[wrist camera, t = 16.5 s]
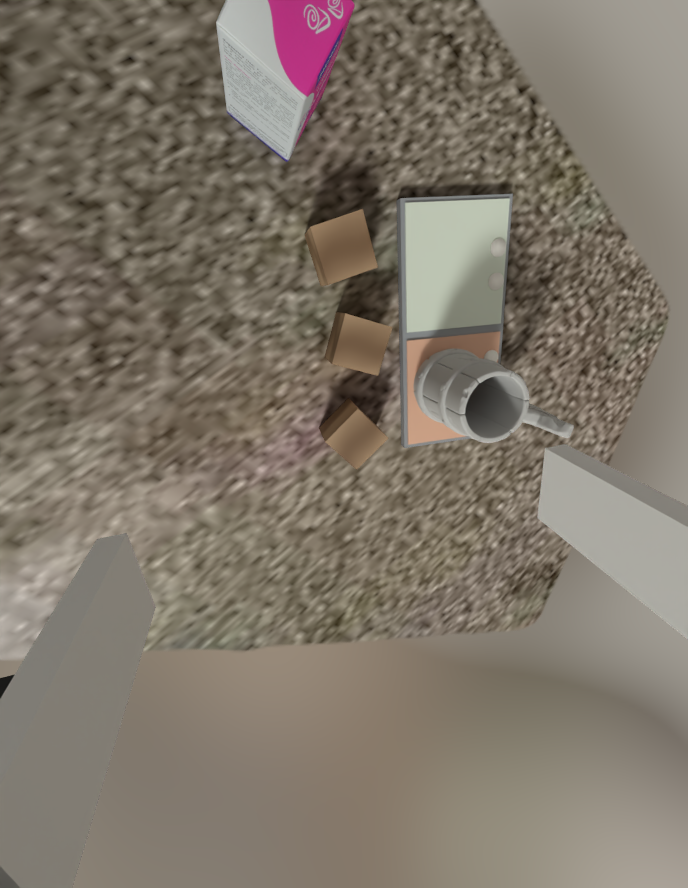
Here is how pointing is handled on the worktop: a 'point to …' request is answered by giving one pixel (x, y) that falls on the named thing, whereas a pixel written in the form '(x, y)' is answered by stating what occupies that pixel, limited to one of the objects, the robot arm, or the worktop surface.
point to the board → (448, 290)
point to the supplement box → (278, 63)
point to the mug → (478, 397)
